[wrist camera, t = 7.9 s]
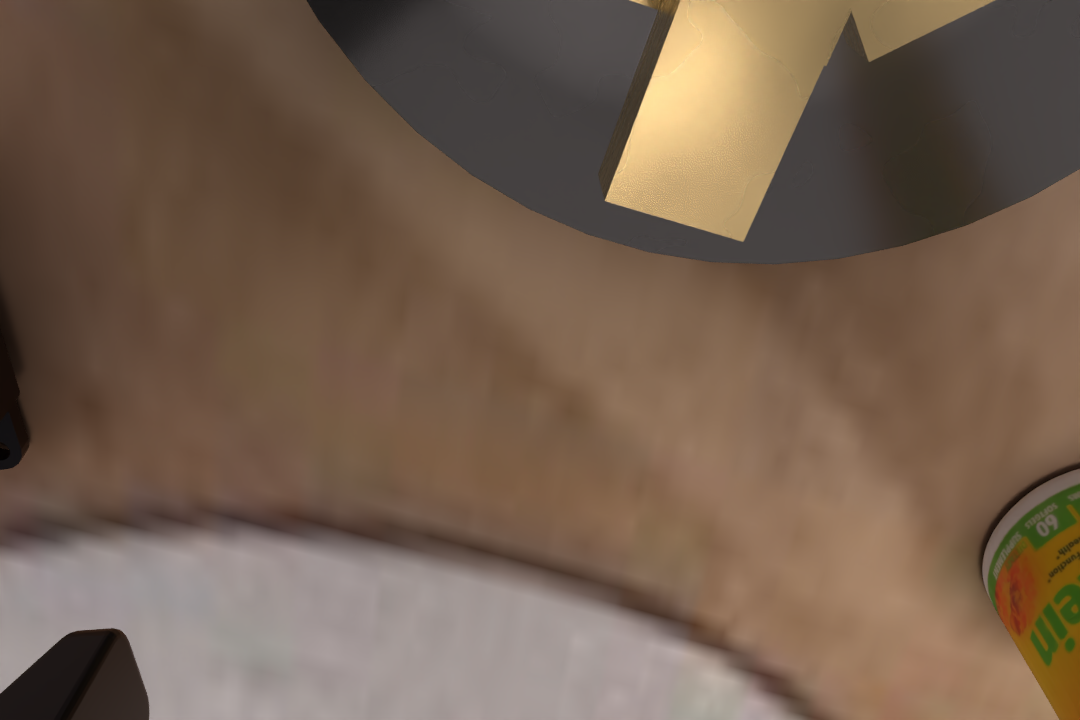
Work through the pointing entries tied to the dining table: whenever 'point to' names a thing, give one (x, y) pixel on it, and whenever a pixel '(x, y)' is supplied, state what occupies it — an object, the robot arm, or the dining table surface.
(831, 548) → the dining table surface
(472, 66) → the cap plate
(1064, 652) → the supplement bottle
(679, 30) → the colourful block cluster
